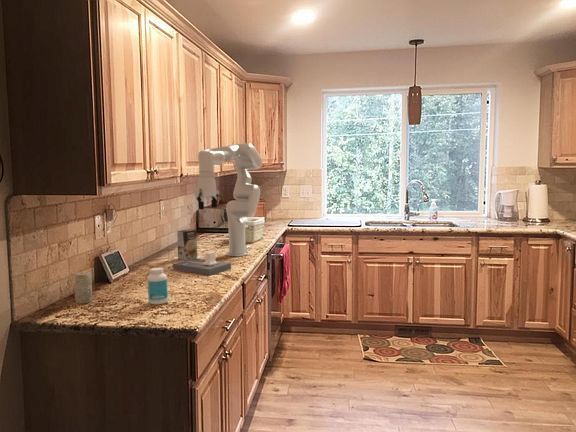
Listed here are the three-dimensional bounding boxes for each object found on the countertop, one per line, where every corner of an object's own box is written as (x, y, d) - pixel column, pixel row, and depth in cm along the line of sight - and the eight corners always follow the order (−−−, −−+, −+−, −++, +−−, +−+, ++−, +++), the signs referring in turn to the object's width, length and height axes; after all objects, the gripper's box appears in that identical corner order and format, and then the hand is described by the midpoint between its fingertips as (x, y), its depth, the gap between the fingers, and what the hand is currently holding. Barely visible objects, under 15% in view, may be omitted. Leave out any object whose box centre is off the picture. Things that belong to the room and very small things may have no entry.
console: (195, 263, 261) (195, 257, 261) (231, 268, 247) (231, 262, 247) (173, 269, 248) (172, 263, 247) (209, 275, 234) (209, 269, 234)
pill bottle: (172, 302, 192) (170, 268, 190) (155, 306, 186) (154, 272, 185) (161, 298, 197) (159, 265, 195) (144, 302, 191) (143, 269, 190)
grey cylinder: (74, 305, 189) (71, 275, 188) (77, 300, 196) (75, 271, 195) (91, 304, 191) (89, 274, 189) (94, 298, 198) (92, 269, 197)
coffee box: (185, 260, 270) (183, 231, 268) (177, 259, 274) (176, 230, 272) (197, 257, 277) (196, 229, 275) (190, 256, 281) (189, 228, 279)
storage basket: (244, 237, 346) (243, 216, 344) (266, 237, 342) (265, 216, 340) (231, 243, 323) (231, 220, 321) (255, 243, 319) (254, 221, 317)
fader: (211, 262, 248) (210, 251, 247) (218, 263, 245) (218, 252, 244) (202, 264, 243) (202, 253, 242) (210, 265, 240) (209, 254, 239)
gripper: (212, 174, 259) (213, 206, 261) (189, 175, 244) (190, 209, 247) (223, 174, 255) (224, 207, 257) (200, 175, 240) (201, 210, 242)
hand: (207, 208), depth 252 cm, fingers open, 9 cm apart
